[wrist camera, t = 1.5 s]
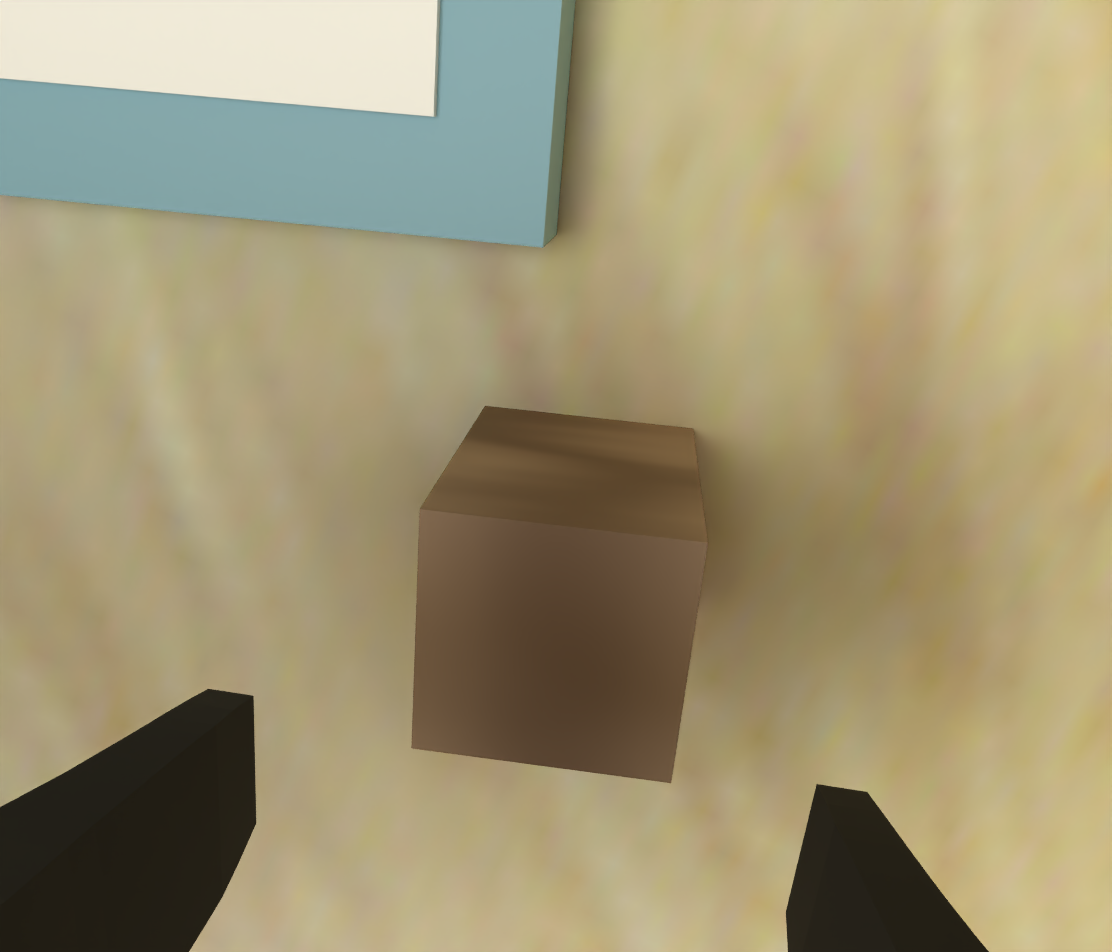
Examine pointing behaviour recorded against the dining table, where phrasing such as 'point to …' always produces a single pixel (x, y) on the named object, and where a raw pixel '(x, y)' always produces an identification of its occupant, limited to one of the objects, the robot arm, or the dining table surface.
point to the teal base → (294, 110)
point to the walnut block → (560, 594)
